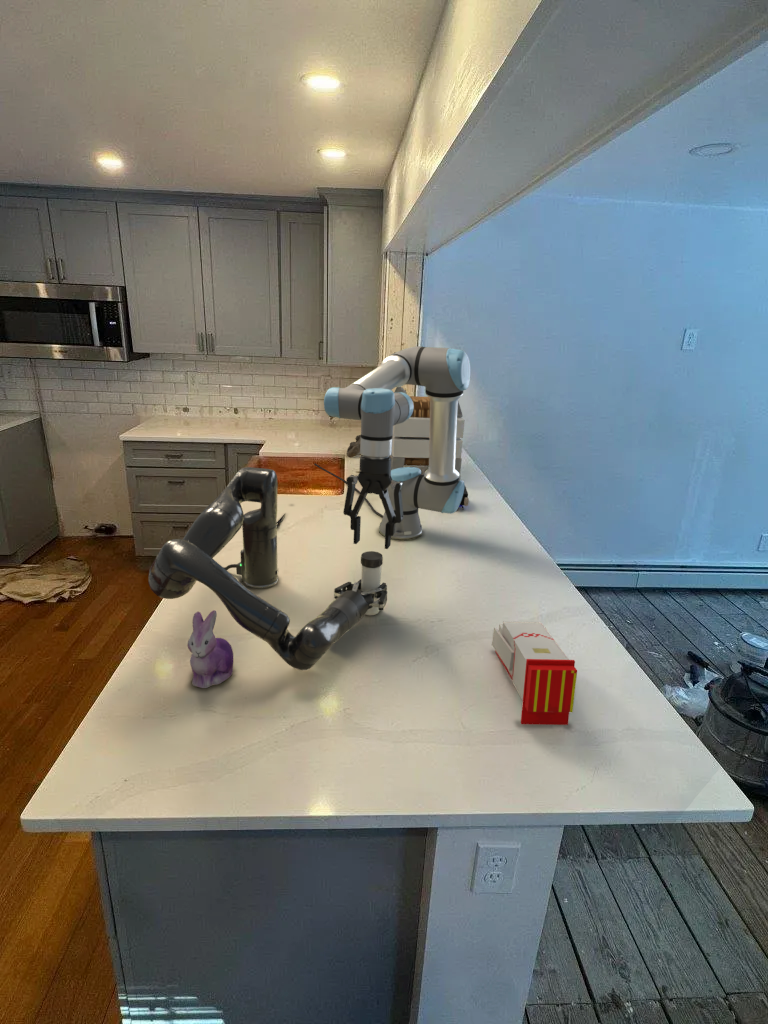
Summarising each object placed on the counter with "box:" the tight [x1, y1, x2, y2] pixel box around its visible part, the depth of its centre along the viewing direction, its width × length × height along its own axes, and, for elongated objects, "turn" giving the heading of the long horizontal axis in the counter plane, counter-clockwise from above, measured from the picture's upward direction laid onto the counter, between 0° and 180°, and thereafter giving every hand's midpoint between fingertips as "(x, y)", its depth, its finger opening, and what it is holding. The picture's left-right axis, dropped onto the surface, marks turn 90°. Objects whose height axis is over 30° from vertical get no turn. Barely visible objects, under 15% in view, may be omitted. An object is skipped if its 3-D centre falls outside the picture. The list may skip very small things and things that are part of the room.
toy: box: [491, 621, 578, 726], centre depth 121 cm, size 12×13×30 cm
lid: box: [360, 550, 384, 568], centre depth 144 cm, size 6×6×2 cm
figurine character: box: [458, 486, 470, 511], centre depth 230 cm, size 7×8×15 cm
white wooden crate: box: [390, 386, 465, 480], centre depth 268 cm, size 34×33×41 cm
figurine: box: [187, 609, 234, 689], centre depth 117 cm, size 9×10×15 cm
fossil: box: [346, 434, 361, 458], centre depth 305 cm, size 22×10×15 cm
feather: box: [276, 513, 286, 529], centre depth 210 cm, size 2×28×2 cm
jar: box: [360, 564, 382, 616], centre depth 146 cm, size 5×5×15 cm
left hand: (375, 583), depth 149 cm, fingers closed on jar, 5 cm apart
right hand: (372, 544), depth 142 cm, fingers open, 7 cm apart
